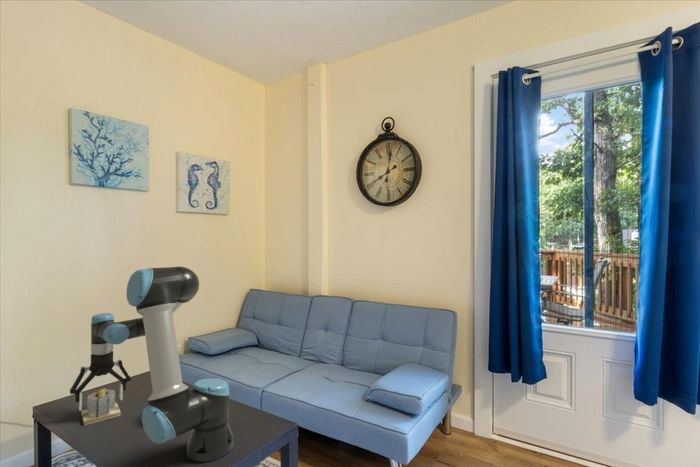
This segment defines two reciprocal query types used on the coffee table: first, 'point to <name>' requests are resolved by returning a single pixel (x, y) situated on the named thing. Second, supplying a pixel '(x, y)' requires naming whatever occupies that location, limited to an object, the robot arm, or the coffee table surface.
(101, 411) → the studded hollow tube
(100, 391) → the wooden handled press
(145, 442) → the coffee table surface
